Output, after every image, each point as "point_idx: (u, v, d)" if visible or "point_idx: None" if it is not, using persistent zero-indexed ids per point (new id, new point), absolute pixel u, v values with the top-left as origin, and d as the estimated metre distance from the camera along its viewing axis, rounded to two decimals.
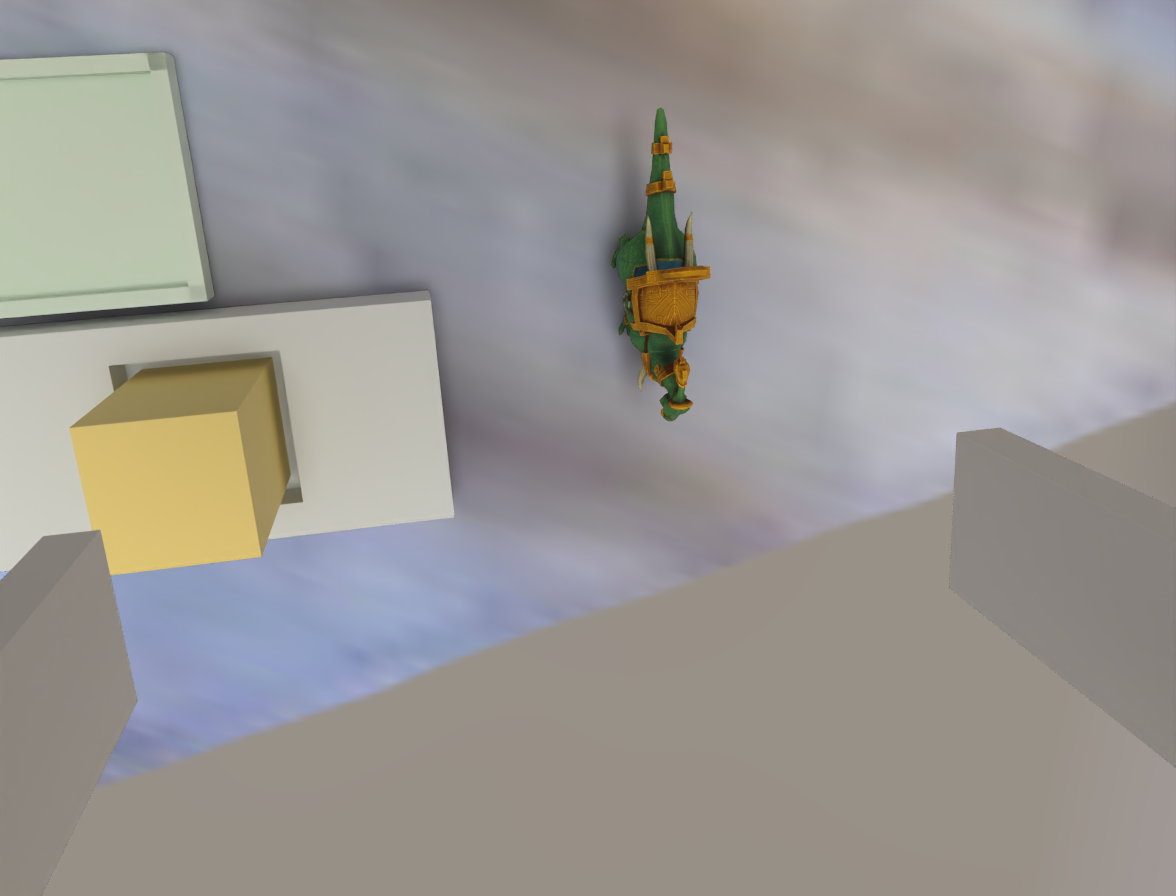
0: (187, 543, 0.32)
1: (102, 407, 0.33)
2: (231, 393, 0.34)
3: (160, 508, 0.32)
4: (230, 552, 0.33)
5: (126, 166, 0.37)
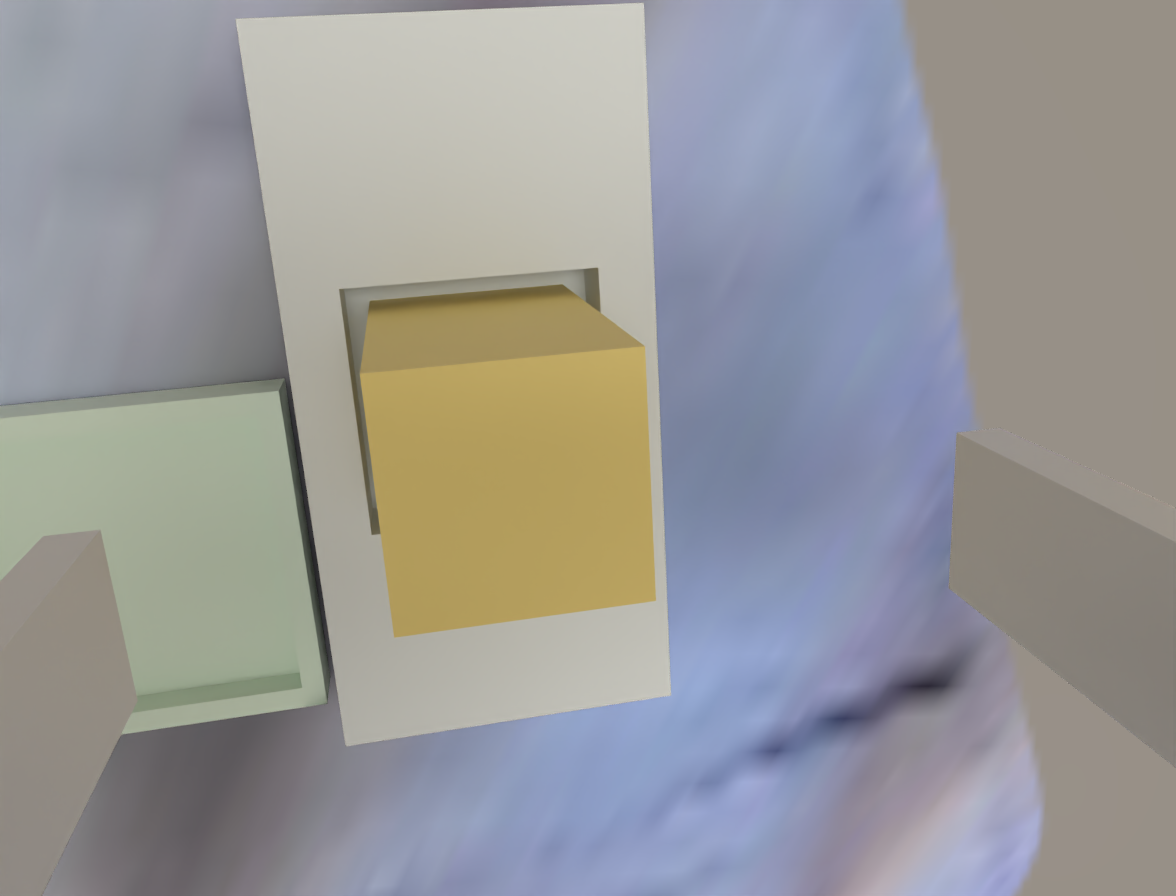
0: (609, 469, 0.18)
1: None
2: None
3: (541, 509, 0.18)
4: (631, 399, 0.18)
5: (90, 487, 0.26)
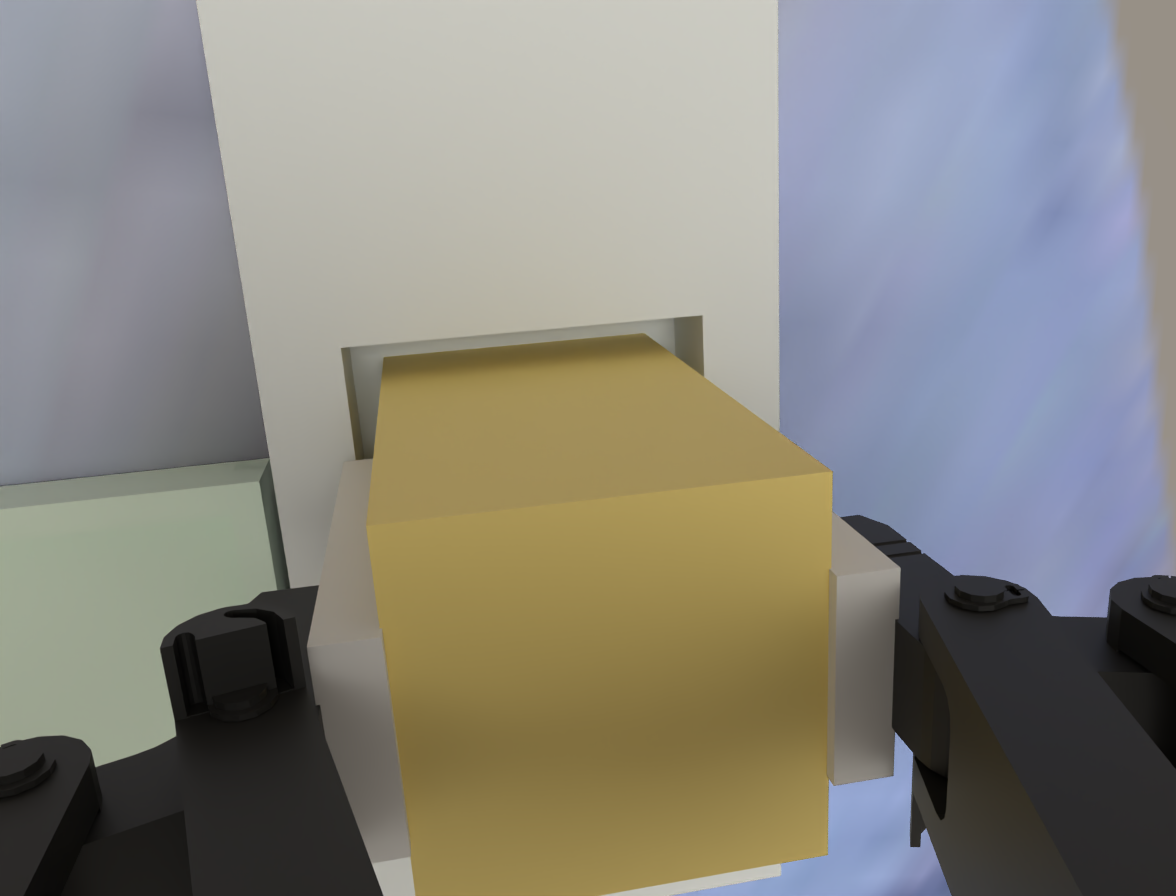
0: (767, 662, 0.11)
1: None
2: None
3: (658, 727, 0.11)
4: (807, 554, 0.11)
5: (5, 607, 0.19)
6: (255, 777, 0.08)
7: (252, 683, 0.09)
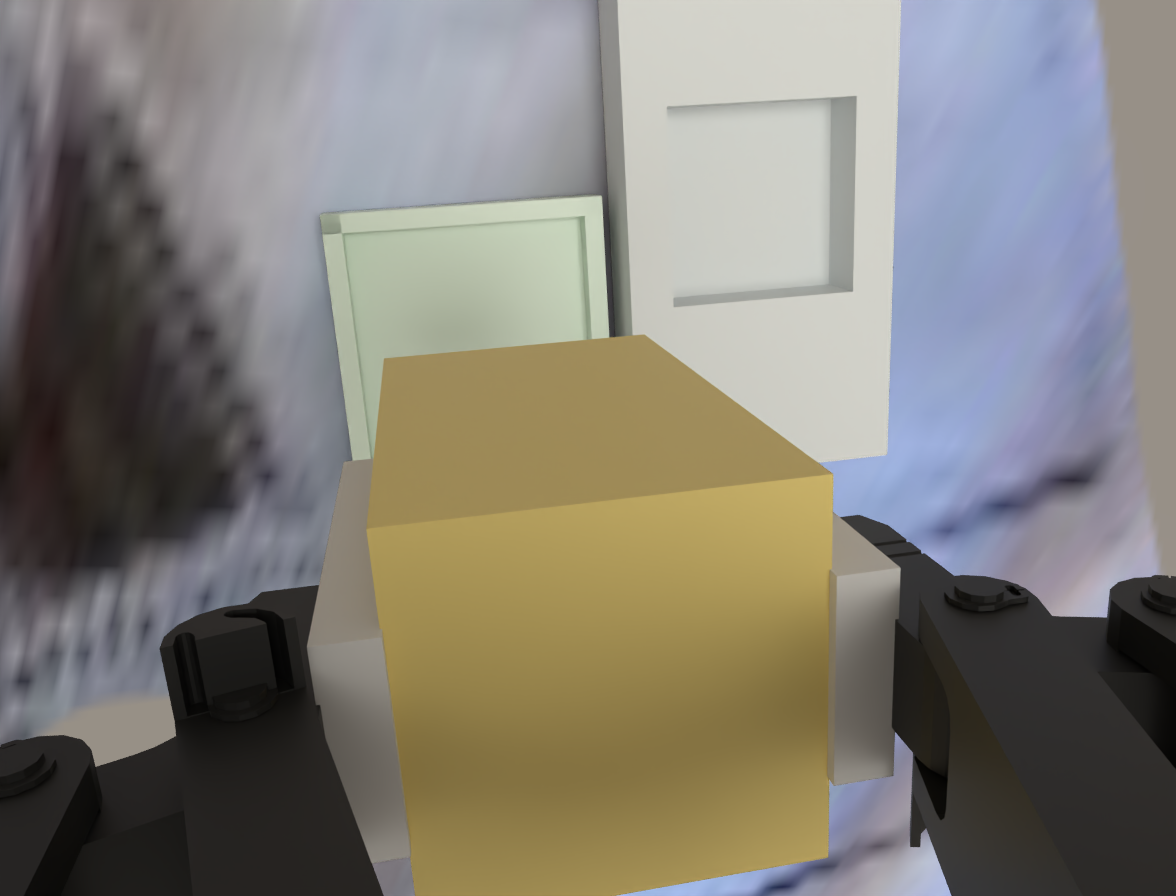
0: (767, 665, 0.11)
1: None
2: None
3: (658, 729, 0.11)
4: (807, 557, 0.11)
5: (448, 274, 0.33)
6: (255, 777, 0.08)
7: (252, 683, 0.09)
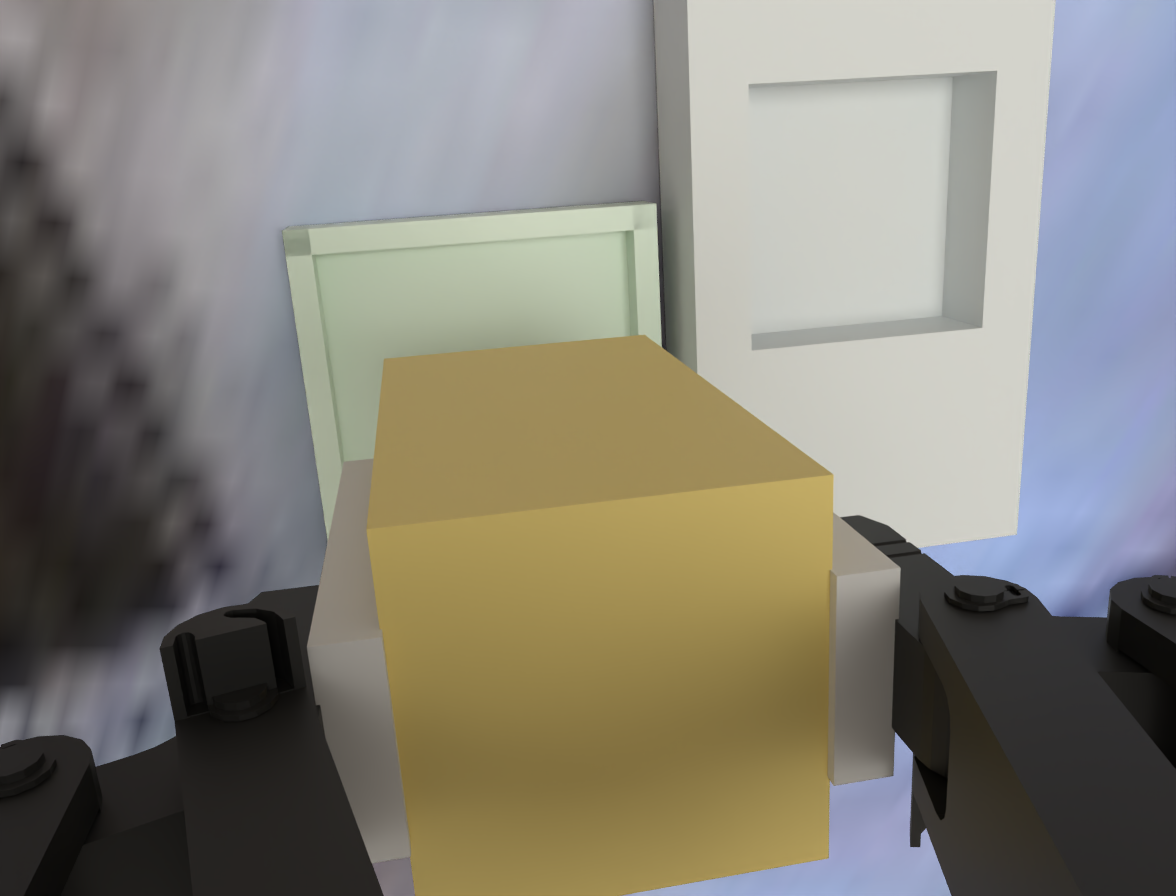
0: (768, 666, 0.11)
1: None
2: None
3: (659, 730, 0.11)
4: (808, 557, 0.11)
5: (454, 306, 0.25)
6: (255, 777, 0.08)
7: (252, 683, 0.09)
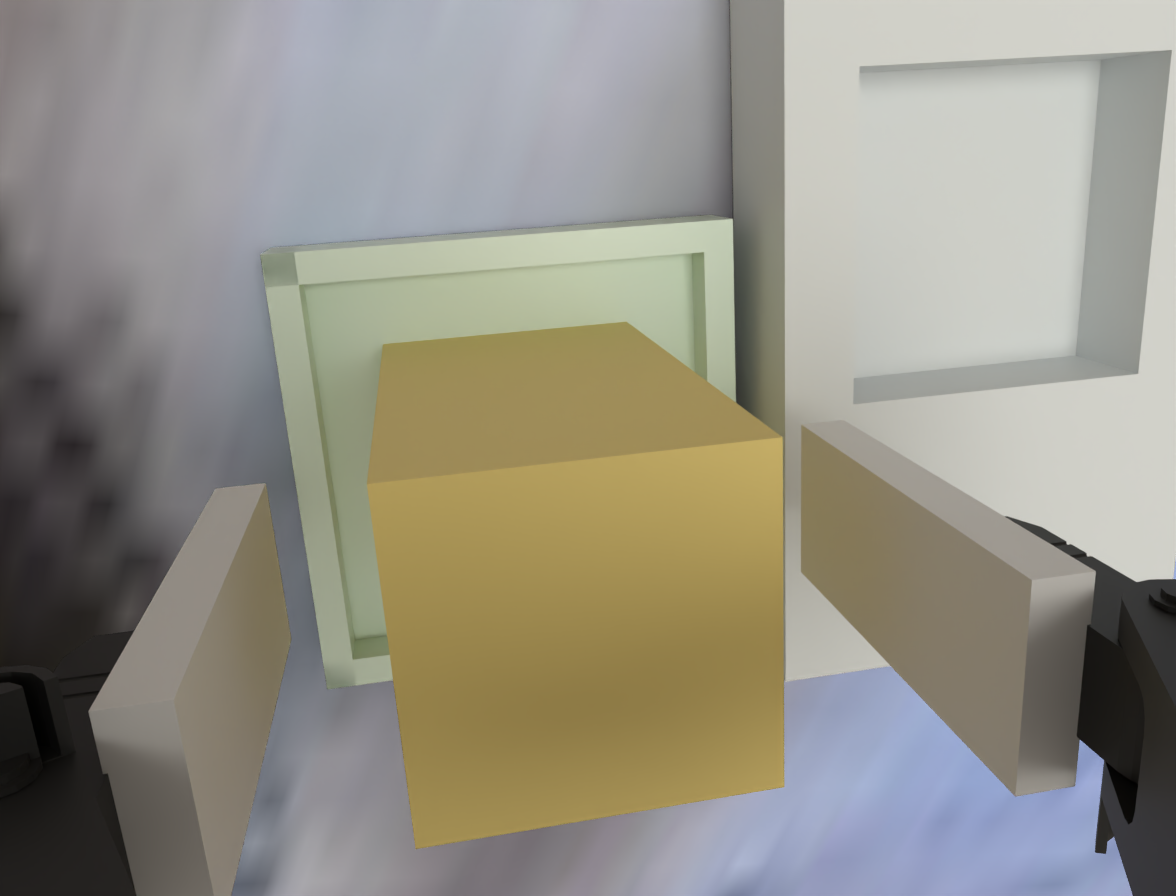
0: (726, 610, 0.13)
1: None
2: None
3: (628, 667, 0.13)
4: (761, 512, 0.12)
5: None
6: (16, 861, 0.07)
7: (10, 755, 0.08)
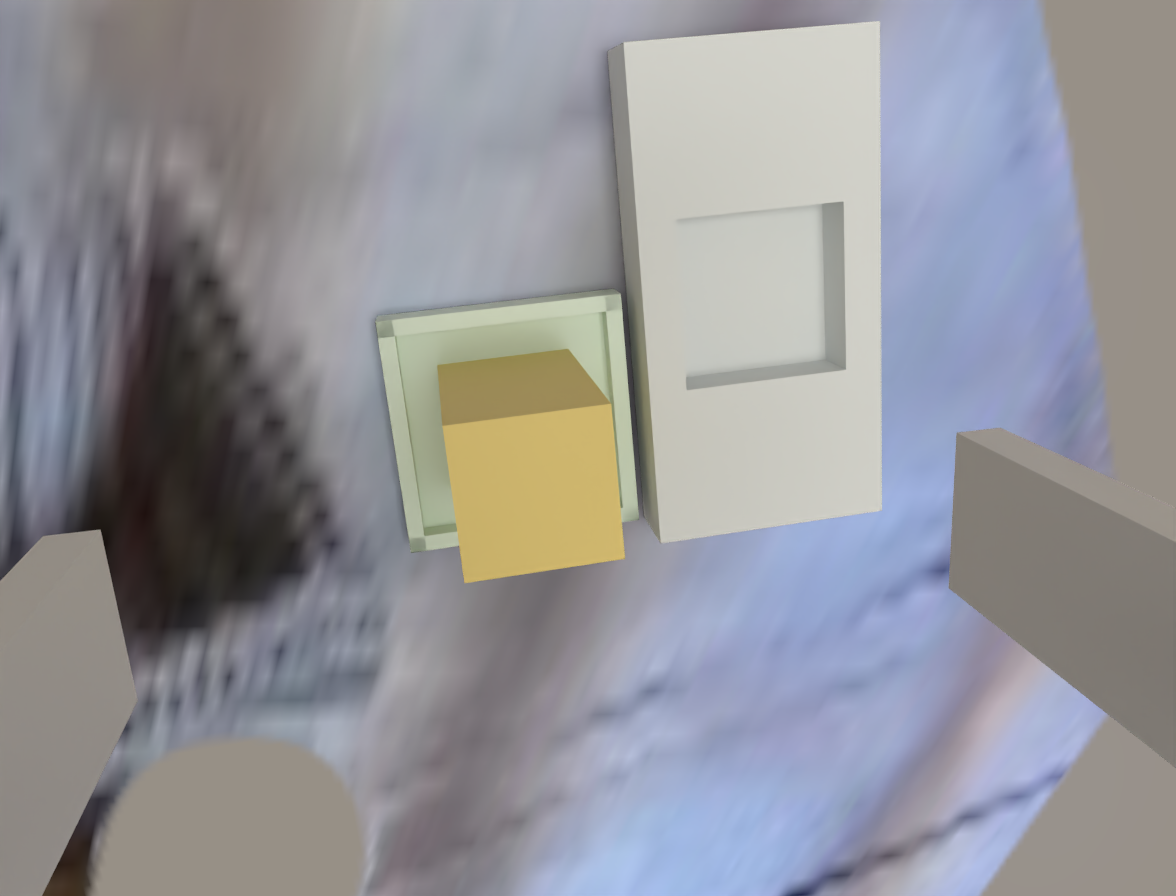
0: (592, 477, 0.30)
1: None
2: None
3: (551, 503, 0.30)
4: (604, 435, 0.30)
5: None
6: None
7: None
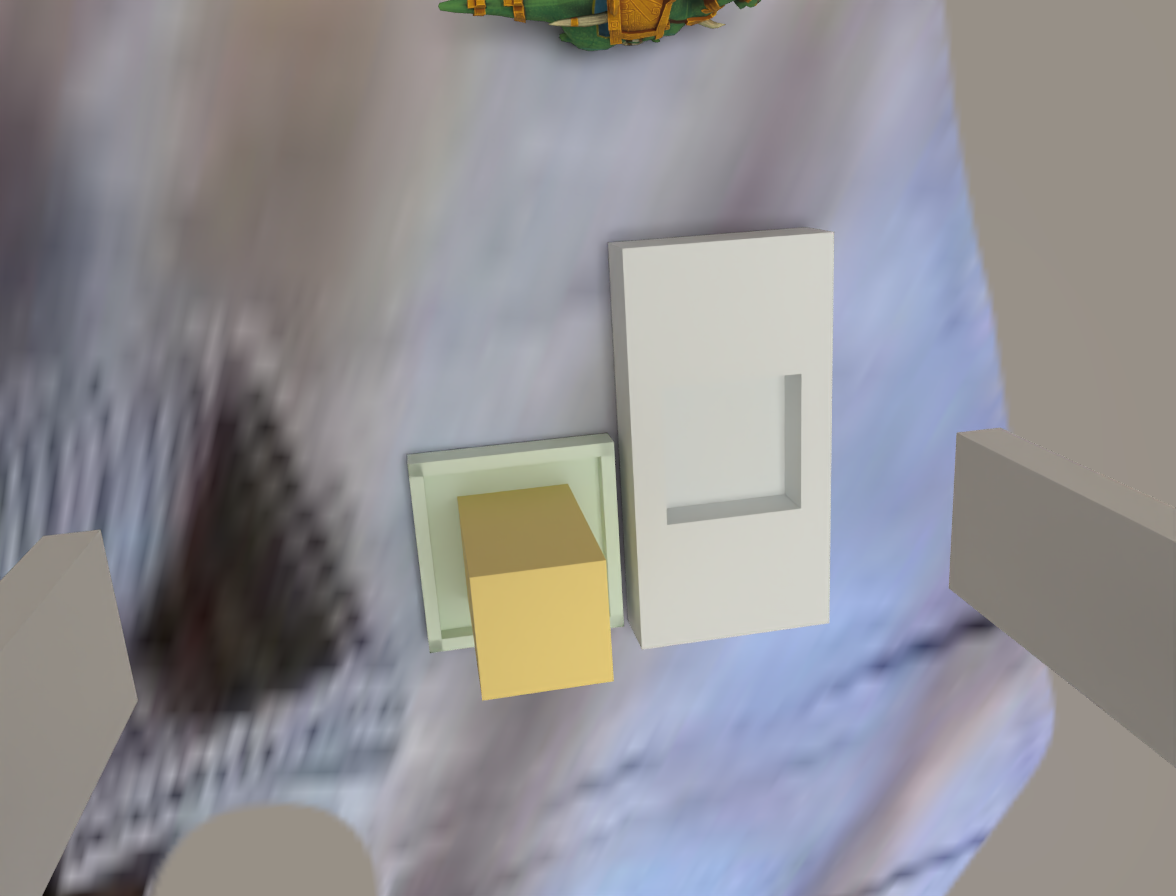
0: (589, 617, 0.37)
1: None
2: (466, 563, 0.38)
3: (555, 637, 0.37)
4: (600, 584, 0.37)
5: None
6: None
7: None
